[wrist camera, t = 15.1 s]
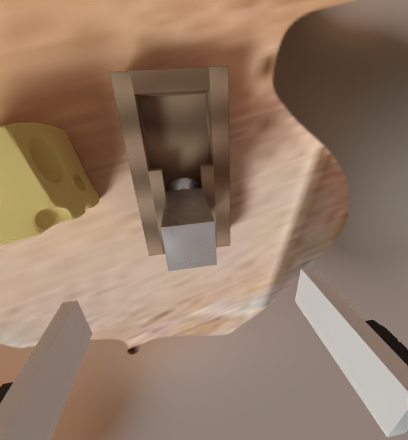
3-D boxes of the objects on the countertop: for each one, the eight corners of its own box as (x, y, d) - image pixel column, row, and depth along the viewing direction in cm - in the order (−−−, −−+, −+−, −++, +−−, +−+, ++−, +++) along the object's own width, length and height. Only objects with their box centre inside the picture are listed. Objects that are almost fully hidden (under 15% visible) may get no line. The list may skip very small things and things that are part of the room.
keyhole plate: (120, 80, 24) (109, 71, 20) (219, 75, 25) (228, 66, 21) (152, 240, 34) (149, 255, 30) (223, 231, 35) (230, 245, 31)
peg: (160, 177, 29) (148, 219, 16) (203, 173, 29) (224, 211, 17) (166, 216, 31) (160, 279, 19) (205, 212, 32) (225, 270, 19)
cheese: (102, 199, 30) (71, 230, 21) (30, 218, 30) (-32, 258, 21) (66, 122, 25) (6, 120, 16) (-20, 144, 25) (-127, 154, 16)
